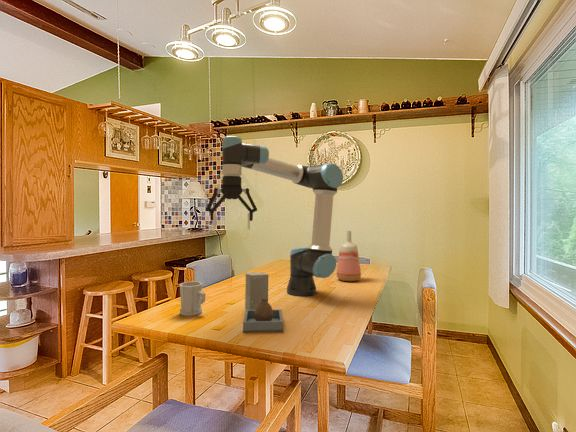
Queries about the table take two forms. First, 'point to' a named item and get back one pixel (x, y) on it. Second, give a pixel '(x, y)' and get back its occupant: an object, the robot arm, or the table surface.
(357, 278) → the pink tapered bottle
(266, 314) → the vase
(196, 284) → the cup
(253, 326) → the bin
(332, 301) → the table surface
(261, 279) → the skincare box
